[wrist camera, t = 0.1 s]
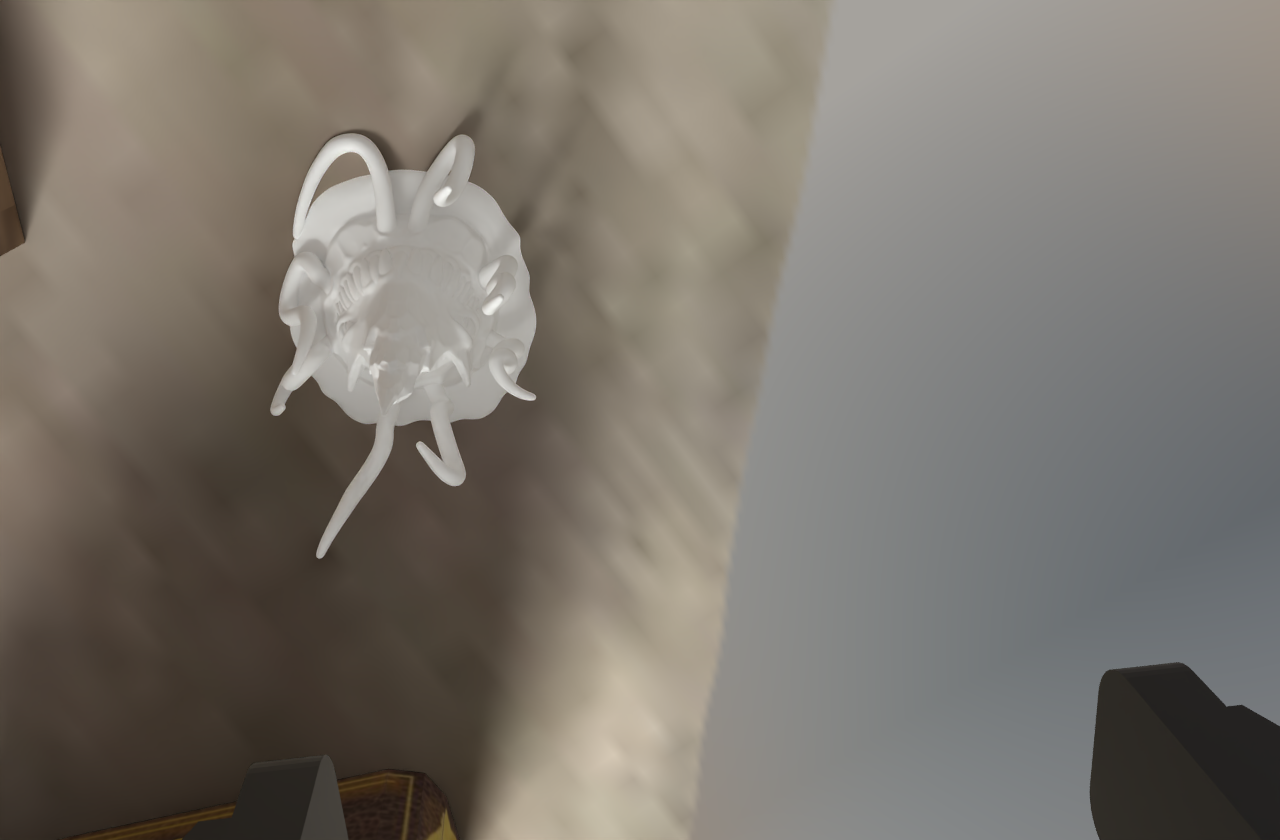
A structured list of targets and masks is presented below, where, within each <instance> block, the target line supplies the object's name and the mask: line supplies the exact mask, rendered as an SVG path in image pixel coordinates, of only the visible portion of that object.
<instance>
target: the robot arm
mask: <svg viewBox="0 0 1280 840" xmlns="http://www.w3.org/2000/svg"><path fill="white" fill-rule="evenodd" d="M1090 803H1091V811H1092V816H1093V820H1094V824H1095V828H1096V831H1097V834H1098V836H1099V839H1100V840H1280V726H1278V725H1276V724H1275V723H1273V722H1271V721H1269V720H1268V719H1266V718H1264V717H1262V716H1261V715H1259V714H1257V713H1255V712H1253V711H1252V710H1250V709H1248V708H1247V707H1245V706H1243V705H1237V706H1228V707H1226V706H1225V704H1224V703H1222V701H1221V700H1220V699H1219V698H1218V697H1217V696H1216V695H1215V694H1214V693H1213V692H1212V691H1211V690H1210V689H1209V688H1208V687H1207V685H1206V684H1205V683H1204V682H1203V681H1202V680H1201V679H1200V678H1199V677H1198V676H1197V675H1196V674H1195V673H1194V672H1193V671H1192V670H1191V669H1190V668H1189V667H1188V666H1186V665H1185V664H1183V663H1179V662H1176V663H1167V664H1158V665H1149V666H1140V667H1131V668H1122V669H1113V670H1108V671H1106V673H1105V674H1104V675H1103V677H1102V679H1101V682H1100V686H1099V693H1098V704H1097V715H1096V727H1095V737H1094V748H1093V759H1092V770H1091V781H1090ZM182 840H349V839H348V834H347V829H346V824H345V819H344V814H343V809H342V804H341V799H340V794H339V789H338V783H337V778H336V774H335V769H334V766H333V763H332V760H331V758H330V757H329V756H328V755H320V756H311V757H302V758H293V759H284V760H275V761H266V762H257V763H253V764H252V765H251V766H250V767H249V769H248V771H247V774H246V777H245V780H244V783H243V785H242V788H241V791H240V794H239V797H238V800H237V803H236V806H235V809H234V812H233V815H232V817H231V818H224V819H215V820H206V821H198V822H197V824H196V825H195V826H194V827H193V828H192V829H191V830H190V831H189V832H188V833H187V834H186V835H185V837H184V838H183V839H182Z"/></svg>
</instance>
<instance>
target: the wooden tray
mask: <svg viewBox="0 0 1280 840" xmlns="http://www.w3.org/2000/svg"><path fill="white" fill-rule="evenodd" d="M23 243H25V240H24V236H23V233H22V229H21V225H20V221H19V217H18V213H17V209H16V205H15V201H14V197H13V193H12V189H11V185H10V181H9V178H8V174H7V170H6V166H5V162H4V158H3V154H2V150H1V146H0V256H1V255H3V254H5V253H7V252H9V251H10V250H12V249H14V248H16V247H18V246H19V245H21V244H23Z"/></svg>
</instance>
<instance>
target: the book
mask: <svg viewBox="0 0 1280 840" xmlns="http://www.w3.org/2000/svg"><path fill="white" fill-rule="evenodd" d="M337 783H338V789H339V794H340V799H341V804H342V809H343V814H344V819H345V824H346V829H347V834H348V839H349V840H460V839H459V836H458V832H457V829H456V826H455V823H454V819H453V816H452V813H451V810H450V807H449V803H448V800H447V797H446V796H445V794H444V793H443V792H442V791H441V790H440V789H439V788H438V787H437V786H436V785H435V784H434V783H433V781H432V780H431V779H430V778H429V777H428V776H427V775H426V774H425V773H419V772H410V771H401V770H392V769H387V770H382V771H378V772H373V773H368V774H364V775H359V776H354V777H349V778H345V779H340V780H337ZM236 803H237V802H232V803H227V804H223V805H218V806H213V807H208V808H204V809H199V810H194V811H190V812H185V813H180V814H176V815H171V816H166V817H161V818H157V819H152V820H147V821H143V822H138V823H133V824H129V825H124V826H119V827H114V828H110V829H105V830H100V831H96V832H91V833H86V834H82V835H77V836H72V837H67V838H63V839H58V840H182V839H183V838H184V837H185V835H186V834H187V833H188V832H189V831H190V830H191V829H192V828H193V827H194V826H195V825H196V824H197V822H198V821H206V820H215V819H224V818H231V817H232V815H233V812H234V809H235V806H236Z"/></svg>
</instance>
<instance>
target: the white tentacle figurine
mask: <svg viewBox="0 0 1280 840" xmlns="http://www.w3.org/2000/svg"><path fill="white" fill-rule="evenodd" d="M347 152H356V153H358V154H359V155H361V156H362V158H363V159H364V160H365V162H366V164H367V166H368V168H369V171H370V175H365V176H361V177H357V178H353V179H351V180H348V181H345V182H342V183H340V184H337V185H335V186H332V187H331V188H329V189H327V190H326V191H325V192H323V193H322V194H321V195H320V196H319V197H318V198H317V199H316V200H315V201H314V203H313V204H312V206H311V208H310V210H309V212H308V215H307V217H306V214H307V211H308V208H309V205H310V203H311V200H312V198H313V195H314V193H315V190H316V188H317V186H318V184H319V182H320V180H321V178H322V176H323V175H324V173H325V172H326V170H327V169H328V168H329V166H330V165H331V164H332V162H333V161H334V160H335V159H336V158H337V157H339V156H340V155H342V154H344V153H347ZM474 156H475V145H474V142H473V140H472V139H471V138H470V137H469V136H467V135H457V136H455V137H454V138H453V139H451V140H450V141H449V142H448V144H447V145H446V146H445V147H444V148H443V150H442V151H441V152H440V154H439V155H438V156H437V158H436V159H435V161H434V162H433V164H432V165H431V167H430V168H429V170H428V171H427V172H425V171H418V170H390V171H388V168H387V165H386V163H385V160H384V158H383V156H382V154H381V152H380V151H379V149H378V148H377V146H376V145H375V144H374V143H373V142H372V141H371V140H370V139H369V138H367V137H365V136H363V135H361V134H356V133H347V134H342V135H338V136H336V137H334V138H332V139H331V140H329V141H328V142H327V143H326V144H325V145H324V147H323V148H322V149H321V151H320V152H319V154H318V155H317V157H316V158H315V160H314V162H313V163H312V165H311V167H310V169H309V171H308V173H307V175H306V178H305V181H304V183H303V186H302V189H301V192H300V195H299V199H298V202H297V206H296V211H295V216H294V225H293V237H294V238H295V239H294V241H293V244H292V247H293V252H294V259H293V260H292V262H291V264H290V266H289V268H288V271H287V273H286V276H285V279H284V282H283V285H282V289H281V293H280V299H279V315H280V318H281V320H282V321H283V322H284V323H285V324H287V325H289V326H290V332H291V336H292V339H293V342H294V344H295V346H296V348H297V350H296V354H295V357H294V361H293V364H292V366H291V367H290V368H289V369H288V370H287V372H286V373H285V374H284V376H283V378H282V380H281V382H280V384H279V386H278V388H277V391H276V393H275V395H274V398H273V401H272V404H271V408H270V411H271V413H272V414H273V415H274V416H278V415H280V414H281V413H282V412H283V411H284V410H285V408H286V407H285V403H286V401H287V399H288V397H289V396H290V394H291V392H292V391H294V390H296V389H298V388H299V387H300V386H301V385H302V384H303V383H304V382H305V381H306V380H307V379H308V378H309V377H310V376H312V377H313V378H314V379H315V380H316V381H317V383H318V384H319V386H320V388H321V390H322V392H323V393H324V394H325V395H326V396H327V397H329V398H331V399H332V400H334V401H335V402H336V403H337V404H338V405H339V406H340V407H341V408H342V410H343V411H344V412H345V413H346V414H347V415H348V416H349V417H350V418H352V419H354V420H356V421H358V422H360V423H363V424H374V423H377V425H376V437H375V442H374V446H373V448H372V450H371V452H370V454H369V456H368V458H367V459H366V461H365V463H364V464H363V466H362V467H361V469H360V470H359V472H358V473H357V474H356V476H355V477H354V479H353V480H352V482H351V483H350V484H349V486H348V487H347V489H346V491H345V492H344V494H343V496H342V498H341V500H340V502H339V504H338V506H337V508H336V510H335V512H334V514H333V516H332V518H331V520H330V522H329V524H328V526H327V528H326V530H325V532H324V534H323V536H322V538H321V541H320V543H319V546H318V549H317V552H316V556H317V558H322V557H323V556H324V555H325V553H326V552H327V550H328V548H329V546H330V545H331V543H332V541H333V540H334V538H335V536H336V535H337V533H338V532H339V530H340V529H341V527H342V526H343V524H344V523H345V521H346V520H347V519H348V517H349V516H350V514H351V513H352V511H353V510H354V508H355V507H356V505H357V504H358V503H359V501H360V500H361V498H362V497H363V496H364V494H365V493H366V492H367V490H368V489H369V488H370V486H371V485H372V483H373V482H374V480H375V479H376V478H377V476H378V474H379V473H380V471H381V470H382V468H383V466H384V465H385V463H386V461H387V459H388V457H389V455H390V452H391V449H392V446H393V440H394V427H395V425H396V426H404V425H407V424H410V423H412V422H415V421H420V420H428V421H431V423H432V427H433V431H434V435H435V438H436V441H437V445H438V448H439V451H440V454H441V457H442V460H443V461H442V460H441V459H440V458H439V457H438V456H437V455H435V454H434V453H433V452H432V451H431V450H430V449H429V448H428V447H427V446H426V445H425V444H424V443H423V442H421V441H419V442H417V443H416V447H417V449H418V451H419V452H420V454H421V455H422V457H423V458H424V459H425V461H426V462H427V464H428V465H429V466H430V468H431V469H432V470H433V472H434V473H435V474H436V475H437V476H438V477H439V478H440V479H441V480H442V481H443V482H445V483H446V484H448V485H451V486H458V485H461V484H462V483H463V482H464V480H465V478H466V471H465V467H464V464H463V461H462V458H461V456H460V453H459V450H458V447H457V444H456V441H455V437H454V434H453V431H452V427H451V424H450V423H451V422H454V421H457V420H461V419H481V418H483V417H485V416H487V415H488V414H490V413H491V412H492V411H494V409H495V408H496V407H497V405H498V404H499V402H500V400H501V399H502V397H503V396H504V395H505V394H506V393H507V392H509V393H510V394H512V395H513V396H515V397H517V398H520V399H523V400H529V401H532V400H535V399H536V395H535V394H533V393H531V392H529V391H526V390H524V389H523V388H521V387H519V386H518V385H517V384H516V381H517V378H518V375H519V373H520V371H521V370H522V368H523V367H524V366H525V364H526V361H527V358H528V353H529V349H530V346H531V343H532V341H533V338H534V335H535V330H536V313H535V308H534V305H533V302H532V299H531V296H530V292H529V285H530V275H529V272H528V269H527V267H526V265H525V262H524V260H523V257H522V254H521V250H520V236H519V234H518V233H517V231H516V230H515V229H514V228H513V227H512V226H511V224H510V223H509V222H508V220H507V219H506V217H505V216H504V214H503V212H502V211H501V209H500V207H499V205H498V204H497V202H496V201H495V200H494V198H493V197H492V196H491V195H490V194H489V193H487V192H486V191H485V190H484V189H482V188H481V187H479V186H477V185H476V184H474V183H471V182H469V181H468V179H469V177H470V174H471V170H472V167H473V162H474ZM451 169H452V170H451ZM450 171H451V173H450V175H449V176H448V174H449V172H450ZM305 218H306V219H305Z"/></svg>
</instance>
